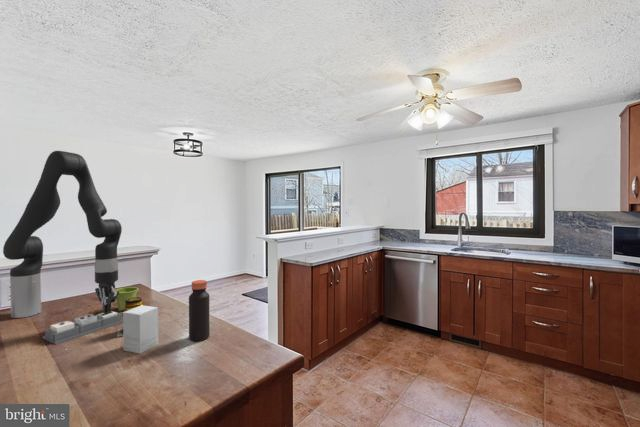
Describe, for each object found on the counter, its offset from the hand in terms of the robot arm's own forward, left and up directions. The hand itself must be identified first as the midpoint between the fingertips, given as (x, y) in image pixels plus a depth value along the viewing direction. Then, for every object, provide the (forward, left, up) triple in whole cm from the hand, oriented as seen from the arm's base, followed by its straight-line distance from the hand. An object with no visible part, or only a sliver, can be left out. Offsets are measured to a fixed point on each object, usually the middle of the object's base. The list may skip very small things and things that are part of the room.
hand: (107, 312), depth 118 cm
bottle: (+43, +8, -4) cm, 44 cm away
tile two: (0, -7, -2) cm, 8 cm away
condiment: (+16, 0, -4) cm, 16 cm away
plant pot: (-10, +13, -4) cm, 17 cm away
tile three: (0, 0, -3) cm, 3 cm away
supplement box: (+32, -6, -4) cm, 33 cm away
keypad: (0, -7, -4) cm, 8 cm away
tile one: (0, -14, -2) cm, 15 cm away
